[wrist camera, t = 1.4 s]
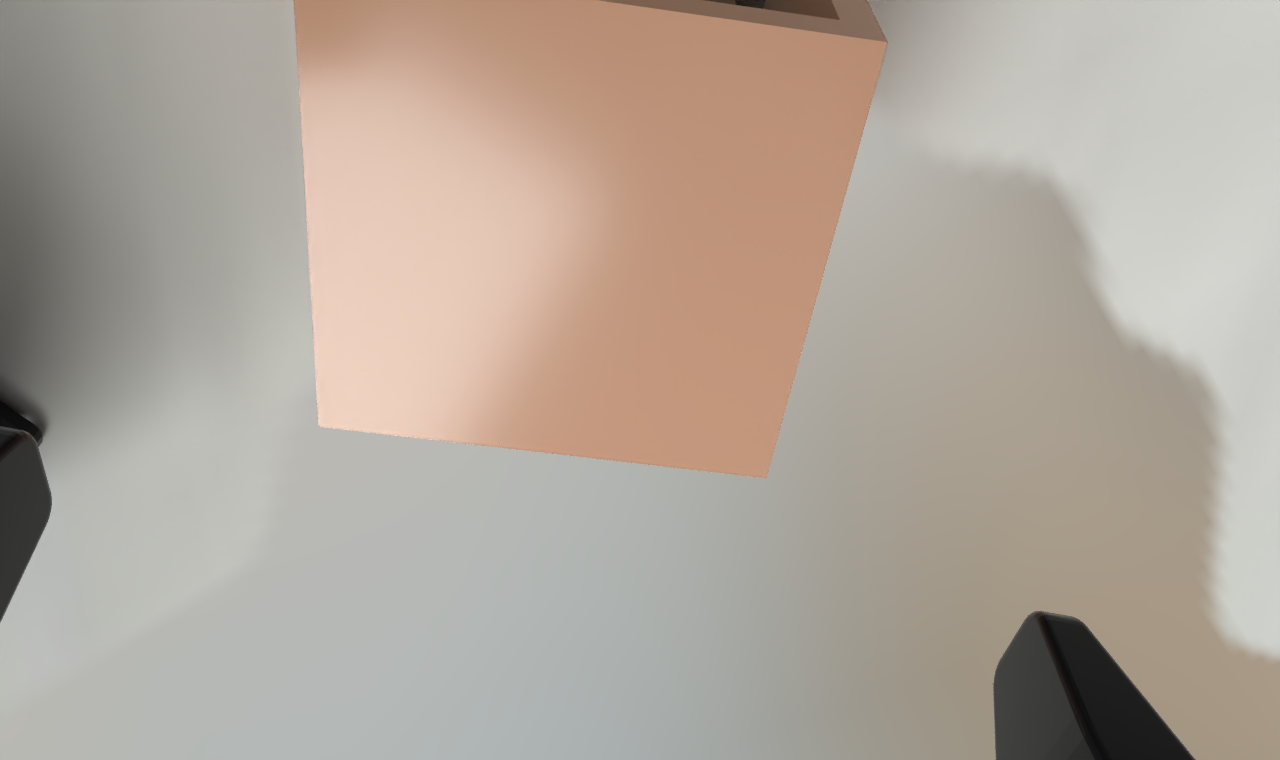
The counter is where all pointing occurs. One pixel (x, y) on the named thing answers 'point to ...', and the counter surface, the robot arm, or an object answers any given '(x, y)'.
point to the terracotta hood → (575, 216)
